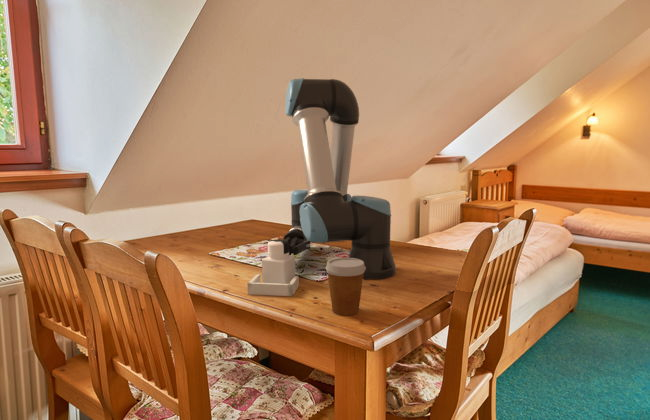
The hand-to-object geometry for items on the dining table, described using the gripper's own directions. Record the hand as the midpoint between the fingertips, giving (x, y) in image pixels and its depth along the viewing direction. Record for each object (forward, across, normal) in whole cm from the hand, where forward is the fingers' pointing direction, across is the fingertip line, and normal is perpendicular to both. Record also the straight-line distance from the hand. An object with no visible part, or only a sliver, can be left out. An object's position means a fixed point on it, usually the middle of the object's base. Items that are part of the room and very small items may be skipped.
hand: (279, 256), depth 143 cm
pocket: (+12, -1, -6) cm, 14 cm away
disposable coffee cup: (+25, -22, -6) cm, 34 cm away
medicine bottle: (+4, -1, -6) cm, 8 cm away
